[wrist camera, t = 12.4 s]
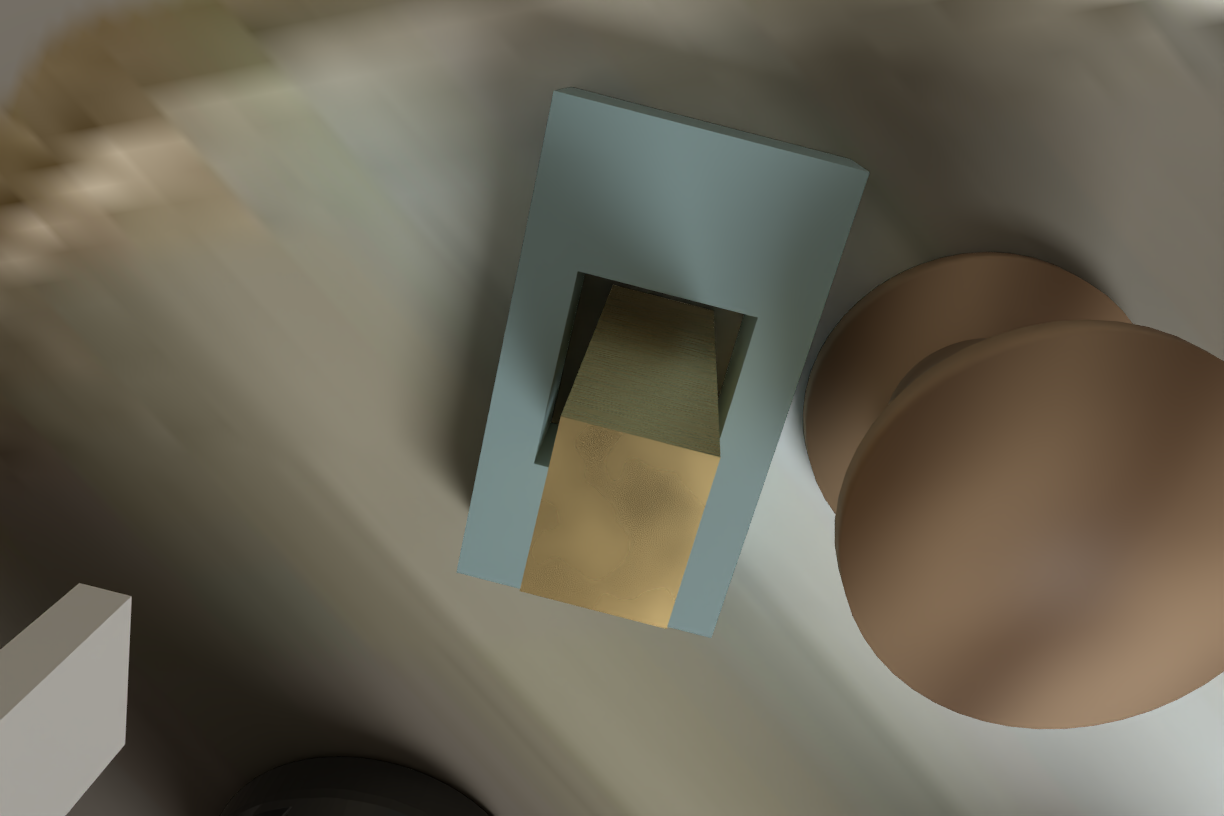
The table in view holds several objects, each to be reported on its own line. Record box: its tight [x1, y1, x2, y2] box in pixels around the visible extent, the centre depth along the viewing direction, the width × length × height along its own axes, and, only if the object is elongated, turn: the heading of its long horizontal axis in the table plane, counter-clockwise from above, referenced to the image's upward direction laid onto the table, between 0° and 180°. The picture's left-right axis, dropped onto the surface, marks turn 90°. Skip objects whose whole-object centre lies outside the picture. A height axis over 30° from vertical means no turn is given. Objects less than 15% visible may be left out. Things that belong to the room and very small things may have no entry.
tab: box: [520, 285, 721, 629], centre depth 25 cm, size 4×4×12 cm
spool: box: [803, 252, 1224, 729], centre depth 26 cm, size 11×11×9 cm
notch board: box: [457, 87, 870, 638], centre depth 29 cm, size 16×9×4 cm, turn 167°
